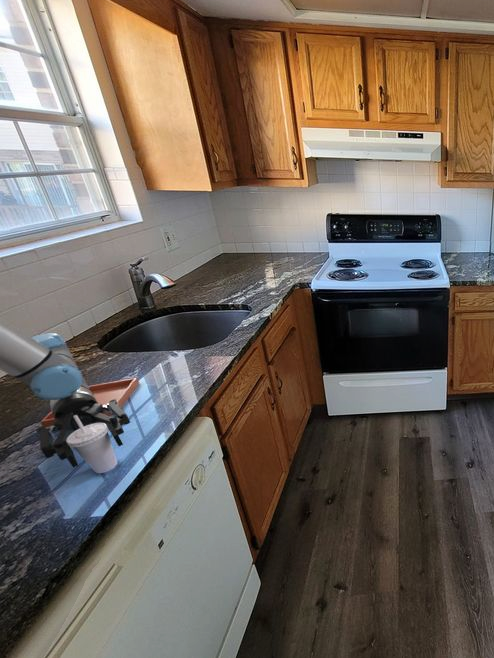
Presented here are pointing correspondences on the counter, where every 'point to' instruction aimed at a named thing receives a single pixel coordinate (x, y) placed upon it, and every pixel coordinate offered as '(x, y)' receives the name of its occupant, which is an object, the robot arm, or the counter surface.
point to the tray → (105, 395)
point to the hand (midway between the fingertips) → (96, 450)
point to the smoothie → (93, 445)
